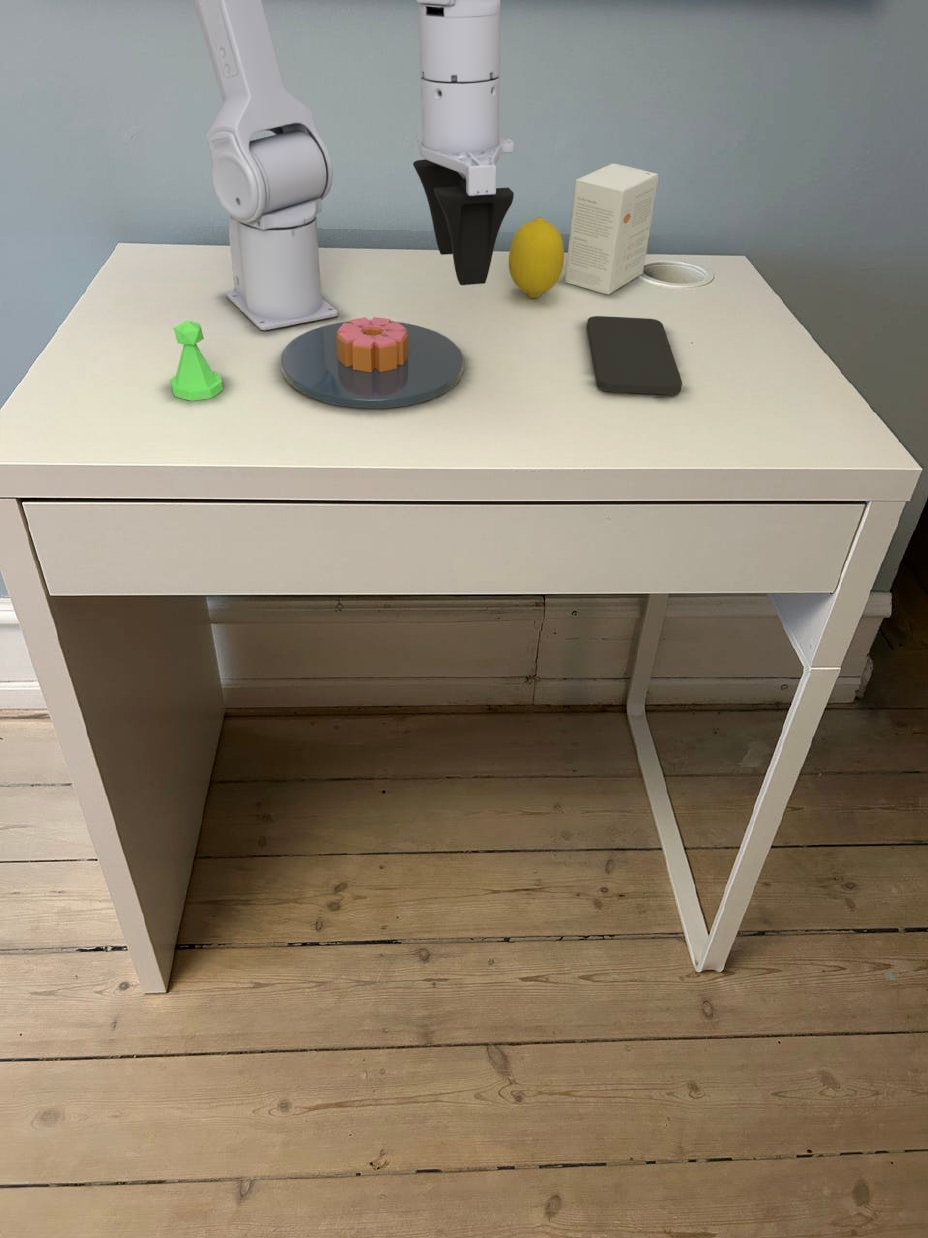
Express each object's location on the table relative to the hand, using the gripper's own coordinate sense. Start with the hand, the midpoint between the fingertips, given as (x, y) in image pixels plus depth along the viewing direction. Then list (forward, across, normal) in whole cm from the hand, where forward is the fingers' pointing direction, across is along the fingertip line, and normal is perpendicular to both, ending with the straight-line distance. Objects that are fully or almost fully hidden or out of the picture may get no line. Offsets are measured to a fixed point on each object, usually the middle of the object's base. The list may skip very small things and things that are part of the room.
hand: (461, 267), depth 77 cm
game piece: (+9, +2, +22) cm, 24 cm away
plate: (+9, +4, +7) cm, 12 cm away
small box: (+10, +22, -20) cm, 31 cm away
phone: (+10, +2, -16) cm, 19 cm away
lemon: (+10, +17, -11) cm, 23 cm away
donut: (+8, +4, +7) cm, 12 cm away
